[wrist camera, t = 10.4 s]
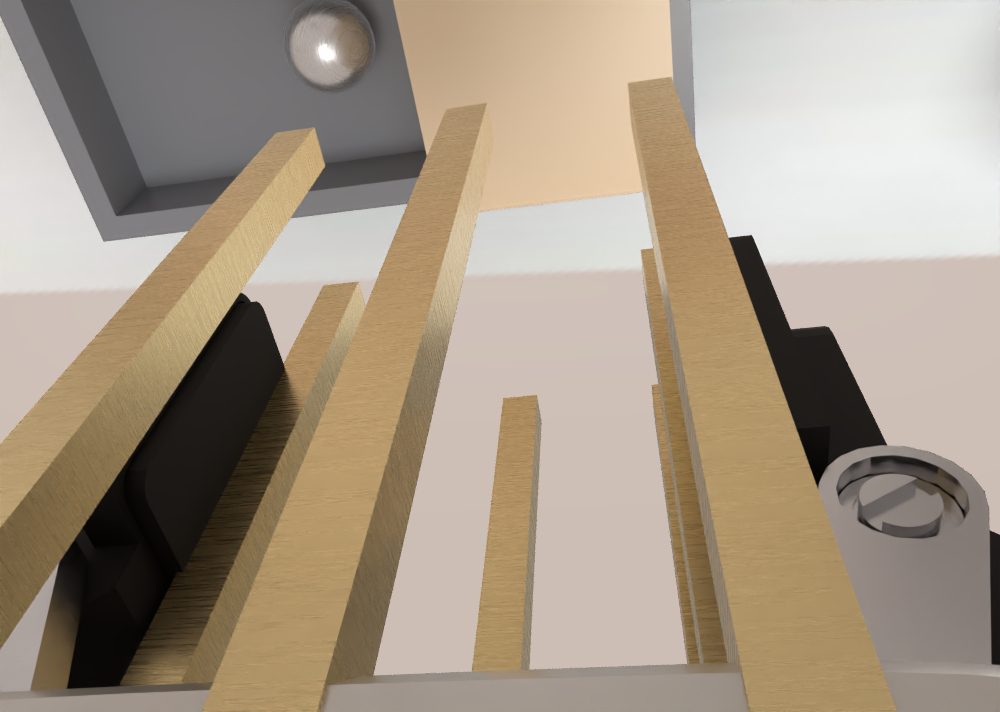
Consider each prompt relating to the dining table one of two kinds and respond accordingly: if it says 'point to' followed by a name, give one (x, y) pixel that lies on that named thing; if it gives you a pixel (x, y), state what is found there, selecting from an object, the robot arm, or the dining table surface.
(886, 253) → the dining table surface
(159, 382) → the tan slotted block
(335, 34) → the ball
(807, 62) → the dining table surface
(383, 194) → the shaker tray
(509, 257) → the dining table surface
